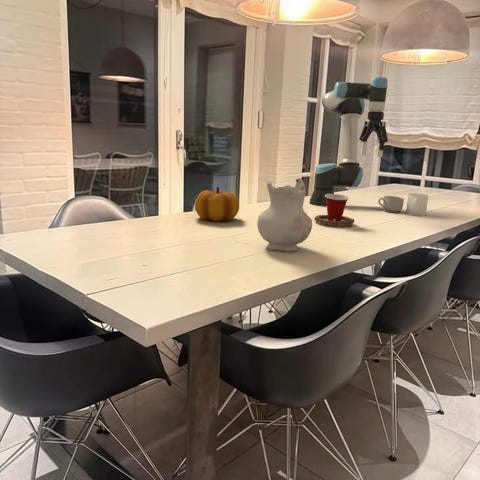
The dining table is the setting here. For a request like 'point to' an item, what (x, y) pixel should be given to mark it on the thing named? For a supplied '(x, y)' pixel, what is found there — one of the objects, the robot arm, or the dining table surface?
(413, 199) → the mug
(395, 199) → the teacup
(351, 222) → the octagonal wooden tray
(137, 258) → the dining table surface
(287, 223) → the ceramic pitcher
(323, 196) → the robot arm
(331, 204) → the plastic cup
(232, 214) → the decorative pumpkin
